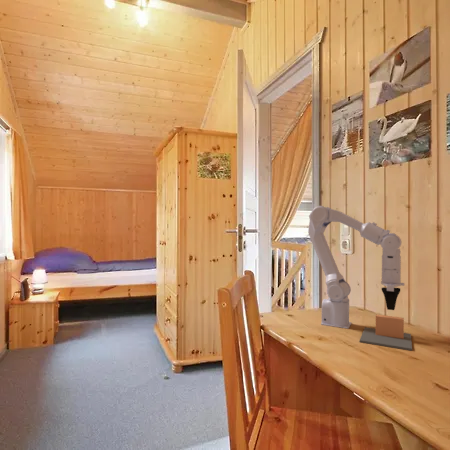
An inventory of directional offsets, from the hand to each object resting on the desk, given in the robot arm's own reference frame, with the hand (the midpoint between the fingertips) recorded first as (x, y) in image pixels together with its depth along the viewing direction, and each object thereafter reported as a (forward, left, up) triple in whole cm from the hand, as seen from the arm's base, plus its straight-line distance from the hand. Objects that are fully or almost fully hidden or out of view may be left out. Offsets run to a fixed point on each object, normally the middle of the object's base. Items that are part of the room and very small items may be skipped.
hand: (390, 309), depth 111 cm
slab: (0, -5, -7) cm, 9 cm away
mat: (-1, -7, -8) cm, 11 cm away
